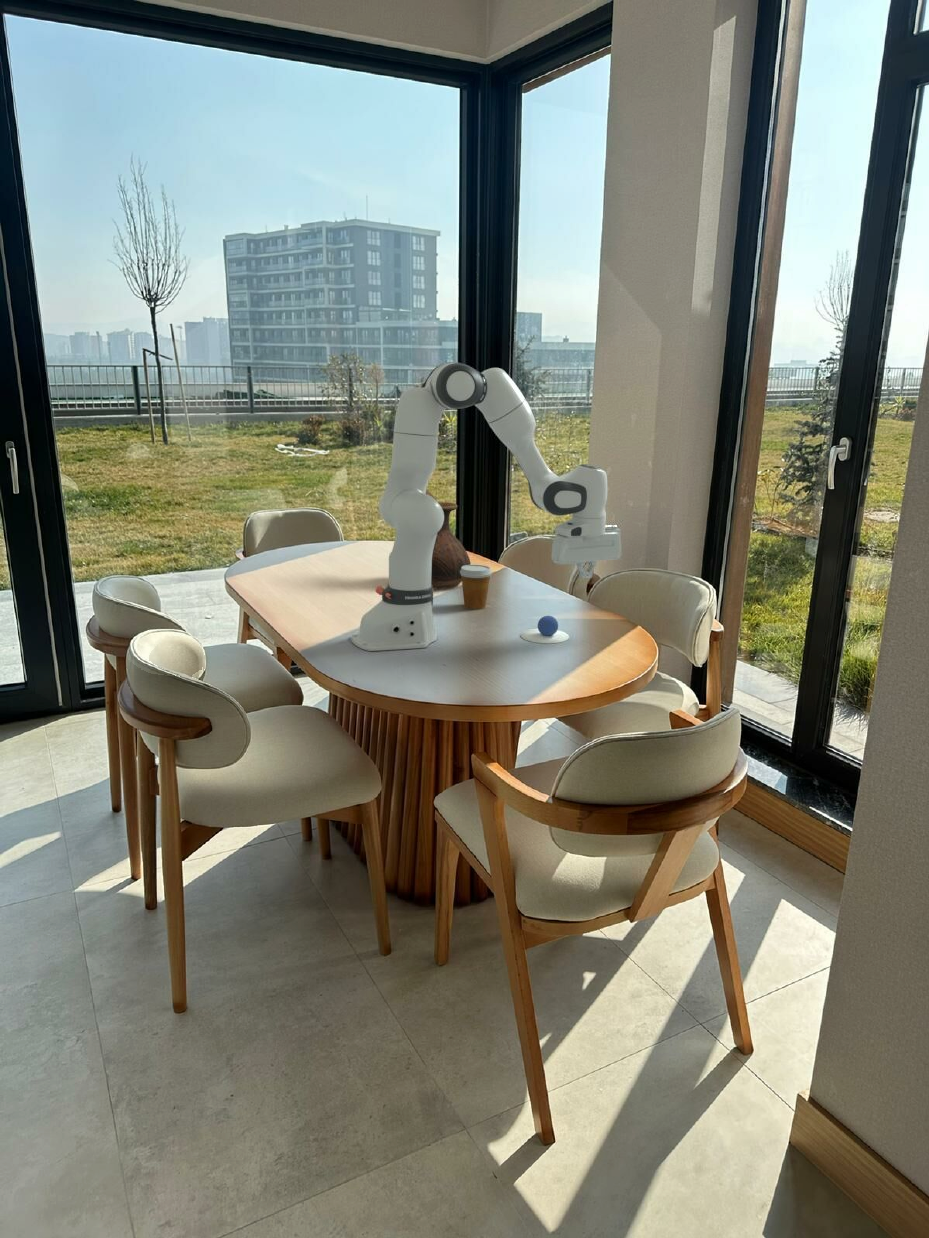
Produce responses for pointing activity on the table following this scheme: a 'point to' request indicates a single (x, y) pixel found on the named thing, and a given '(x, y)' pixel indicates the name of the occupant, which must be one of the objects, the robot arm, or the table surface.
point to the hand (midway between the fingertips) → (585, 577)
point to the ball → (547, 625)
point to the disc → (537, 637)
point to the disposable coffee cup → (475, 585)
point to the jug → (447, 553)
